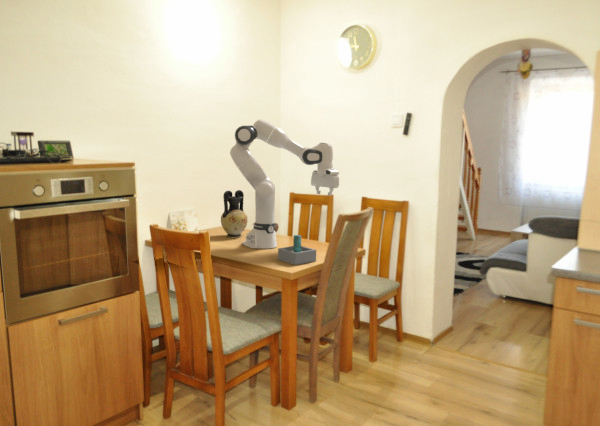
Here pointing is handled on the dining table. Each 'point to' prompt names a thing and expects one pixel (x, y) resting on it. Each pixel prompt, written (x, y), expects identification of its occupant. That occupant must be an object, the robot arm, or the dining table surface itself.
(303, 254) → the box
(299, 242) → the peg
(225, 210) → the amphora
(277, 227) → the lion figurine
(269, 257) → the dining table surface
